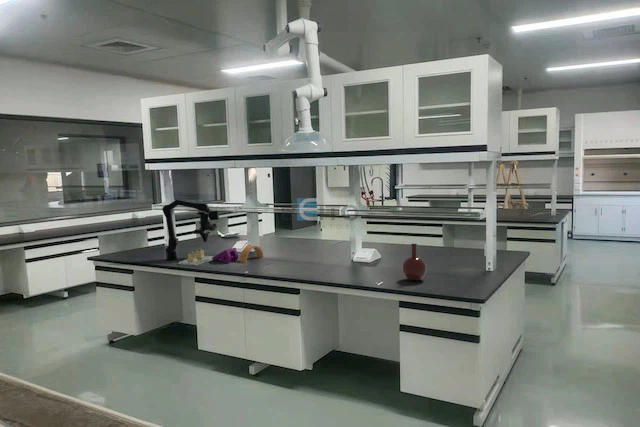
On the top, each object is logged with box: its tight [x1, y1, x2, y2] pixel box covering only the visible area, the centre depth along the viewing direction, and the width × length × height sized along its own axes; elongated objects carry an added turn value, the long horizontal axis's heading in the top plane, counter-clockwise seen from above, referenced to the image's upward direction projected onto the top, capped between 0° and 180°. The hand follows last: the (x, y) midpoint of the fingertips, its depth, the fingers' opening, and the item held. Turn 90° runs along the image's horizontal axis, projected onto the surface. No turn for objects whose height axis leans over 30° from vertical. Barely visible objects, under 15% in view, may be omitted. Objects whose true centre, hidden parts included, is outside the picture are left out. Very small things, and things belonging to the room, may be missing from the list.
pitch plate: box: [178, 255, 214, 266], centre depth 331 cm, size 14×24×2 cm, turn 160°
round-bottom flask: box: [401, 243, 427, 281], centre depth 258 cm, size 13×13×20 cm
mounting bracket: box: [211, 247, 239, 264], centre depth 328 cm, size 9×8×18 cm
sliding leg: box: [195, 248, 205, 258], centre depth 334 cm, size 4×4×6 cm
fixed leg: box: [187, 251, 197, 262], centre depth 325 cm, size 4×4×6 cm
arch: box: [239, 245, 264, 264], centre depth 331 cm, size 6×20×10 cm, turn 149°
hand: (205, 242), depth 341 cm, fingers closed
